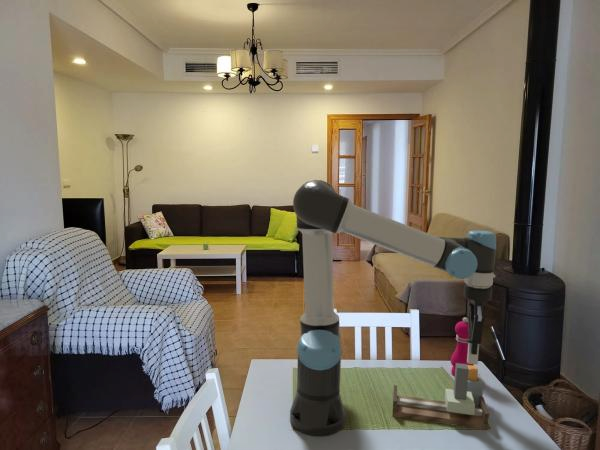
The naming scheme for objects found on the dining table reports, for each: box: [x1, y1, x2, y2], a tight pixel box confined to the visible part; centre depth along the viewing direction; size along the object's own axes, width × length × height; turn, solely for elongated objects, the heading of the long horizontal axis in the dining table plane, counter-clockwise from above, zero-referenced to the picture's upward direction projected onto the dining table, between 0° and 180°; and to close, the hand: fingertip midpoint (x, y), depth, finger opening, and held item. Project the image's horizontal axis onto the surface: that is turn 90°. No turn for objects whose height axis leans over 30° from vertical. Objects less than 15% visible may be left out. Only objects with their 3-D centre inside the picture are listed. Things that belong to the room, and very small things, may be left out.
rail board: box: [391, 384, 490, 430], centre depth 125 cm, size 25×9×4 cm, turn 77°
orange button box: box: [467, 373, 484, 406], centre depth 130 cm, size 6×6×8 cm
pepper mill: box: [450, 317, 475, 377], centre depth 147 cm, size 7×7×20 cm
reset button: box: [467, 365, 479, 381], centre depth 130 cm, size 3×3×6 cm
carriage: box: [444, 363, 475, 415], centre depth 122 cm, size 7×7×12 cm
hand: (472, 362), depth 129 cm, fingers closed
